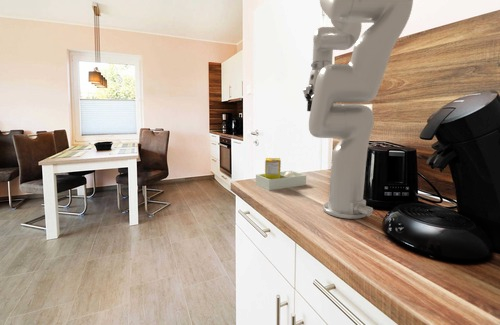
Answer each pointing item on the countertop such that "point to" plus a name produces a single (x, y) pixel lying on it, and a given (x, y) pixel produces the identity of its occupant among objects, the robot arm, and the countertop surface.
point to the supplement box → (272, 168)
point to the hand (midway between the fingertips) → (319, 111)
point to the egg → (289, 174)
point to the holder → (281, 181)
